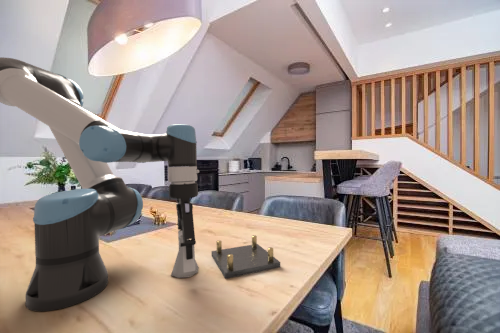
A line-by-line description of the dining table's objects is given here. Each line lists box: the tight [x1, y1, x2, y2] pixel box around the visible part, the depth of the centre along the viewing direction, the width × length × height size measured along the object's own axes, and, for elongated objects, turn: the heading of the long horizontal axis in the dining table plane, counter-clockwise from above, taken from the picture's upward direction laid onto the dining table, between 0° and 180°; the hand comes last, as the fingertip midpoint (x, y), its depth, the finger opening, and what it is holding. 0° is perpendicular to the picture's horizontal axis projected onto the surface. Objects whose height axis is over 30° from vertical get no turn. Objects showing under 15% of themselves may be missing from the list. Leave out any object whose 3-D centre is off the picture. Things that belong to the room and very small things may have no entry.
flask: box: [170, 234, 200, 279], centre depth 63 cm, size 7×7×10 cm
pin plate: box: [211, 235, 281, 280], centre depth 69 cm, size 16×16×5 cm
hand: (186, 260), depth 63 cm, fingers open, 13 cm apart
